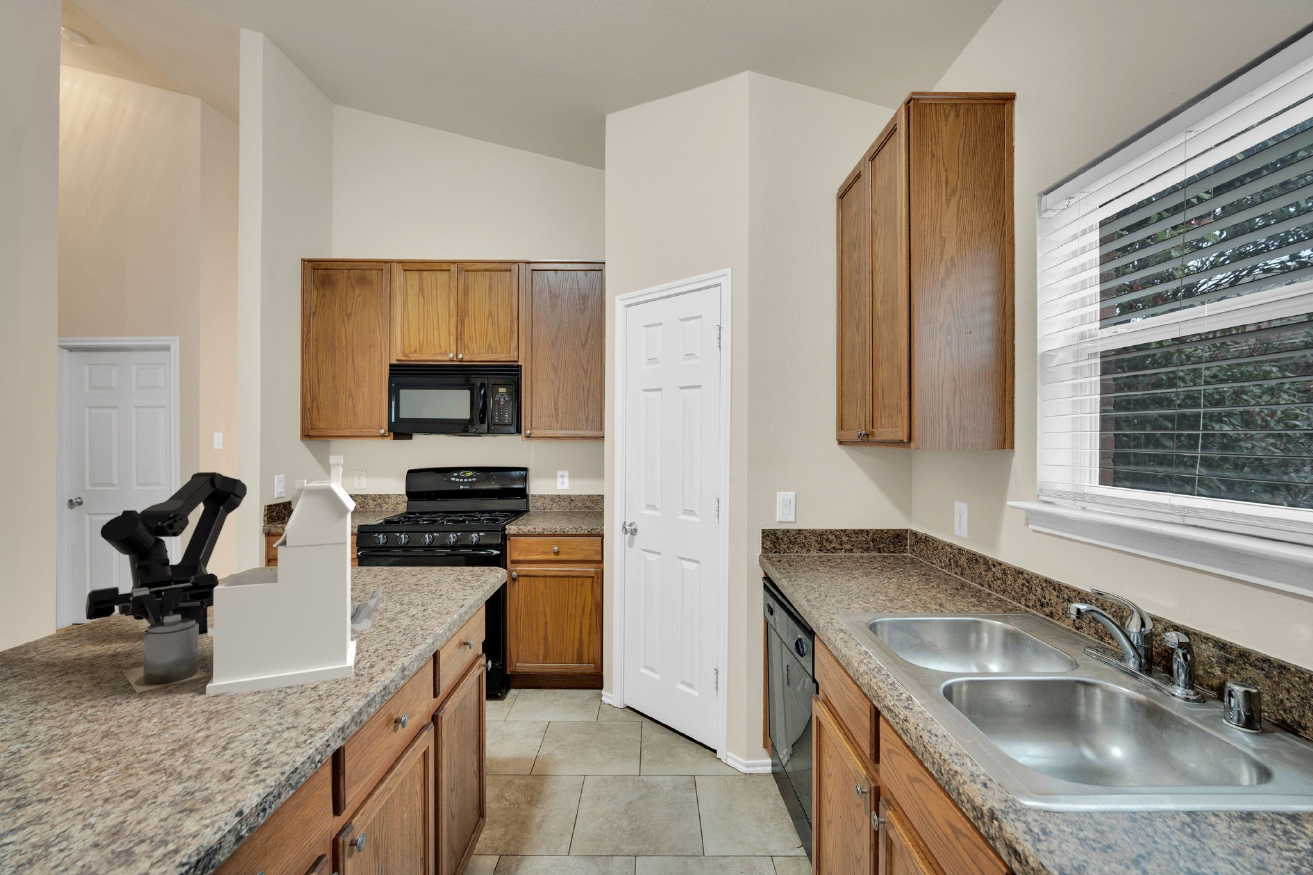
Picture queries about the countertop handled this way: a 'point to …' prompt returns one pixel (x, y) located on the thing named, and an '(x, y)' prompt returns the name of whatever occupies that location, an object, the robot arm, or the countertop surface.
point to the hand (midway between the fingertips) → (162, 633)
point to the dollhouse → (291, 602)
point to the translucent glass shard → (364, 611)
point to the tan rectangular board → (137, 682)
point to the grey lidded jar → (170, 650)
